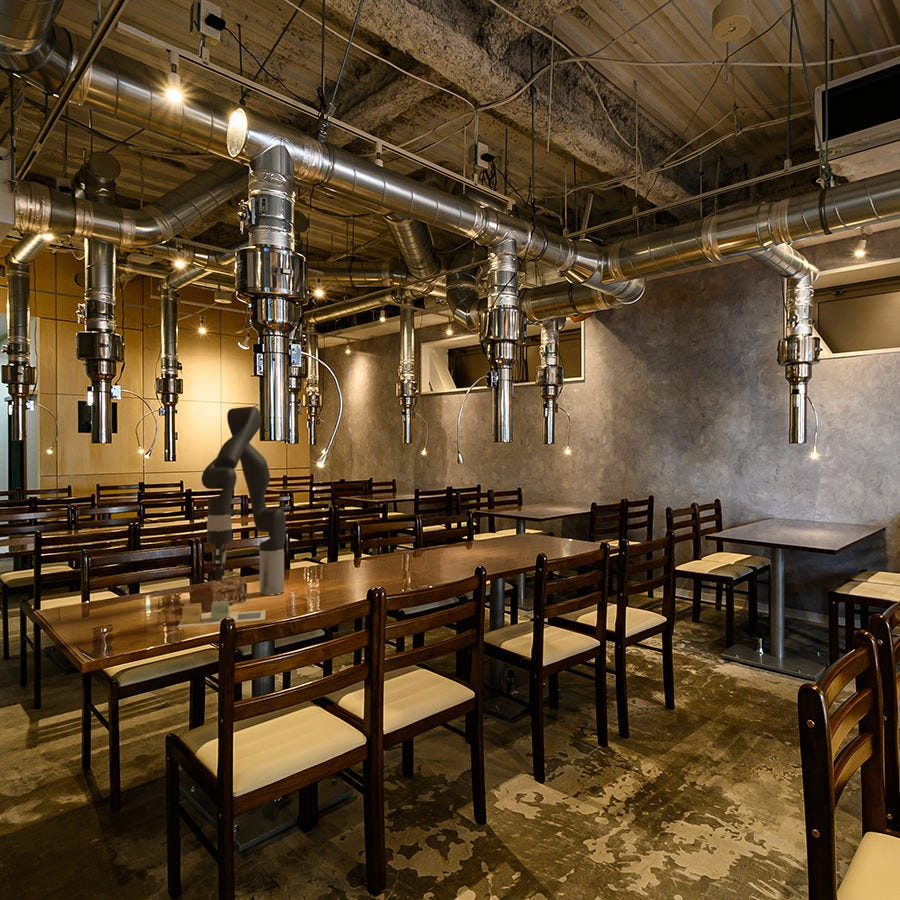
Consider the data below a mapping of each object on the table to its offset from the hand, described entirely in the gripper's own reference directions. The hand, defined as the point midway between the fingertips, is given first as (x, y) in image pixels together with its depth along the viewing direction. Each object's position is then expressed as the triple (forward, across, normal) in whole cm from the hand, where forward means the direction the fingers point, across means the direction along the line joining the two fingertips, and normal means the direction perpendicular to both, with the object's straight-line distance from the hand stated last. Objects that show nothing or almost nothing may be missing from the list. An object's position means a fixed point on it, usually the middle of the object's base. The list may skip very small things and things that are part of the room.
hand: (219, 578), depth 189 cm
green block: (+13, 0, 0) cm, 13 cm away
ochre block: (+13, 0, -8) cm, 16 cm away
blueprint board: (+14, 0, +1) cm, 14 cm away
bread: (+14, -20, -2) cm, 25 cm away
